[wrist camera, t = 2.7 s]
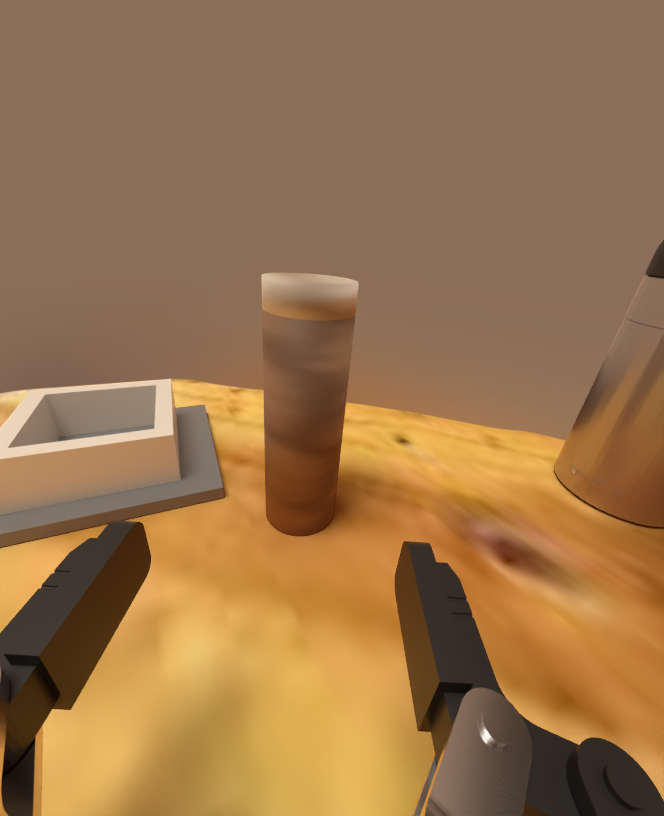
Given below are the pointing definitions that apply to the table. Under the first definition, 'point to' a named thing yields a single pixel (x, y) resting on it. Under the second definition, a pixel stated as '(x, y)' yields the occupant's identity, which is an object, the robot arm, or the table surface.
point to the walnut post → (304, 394)
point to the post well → (101, 458)
